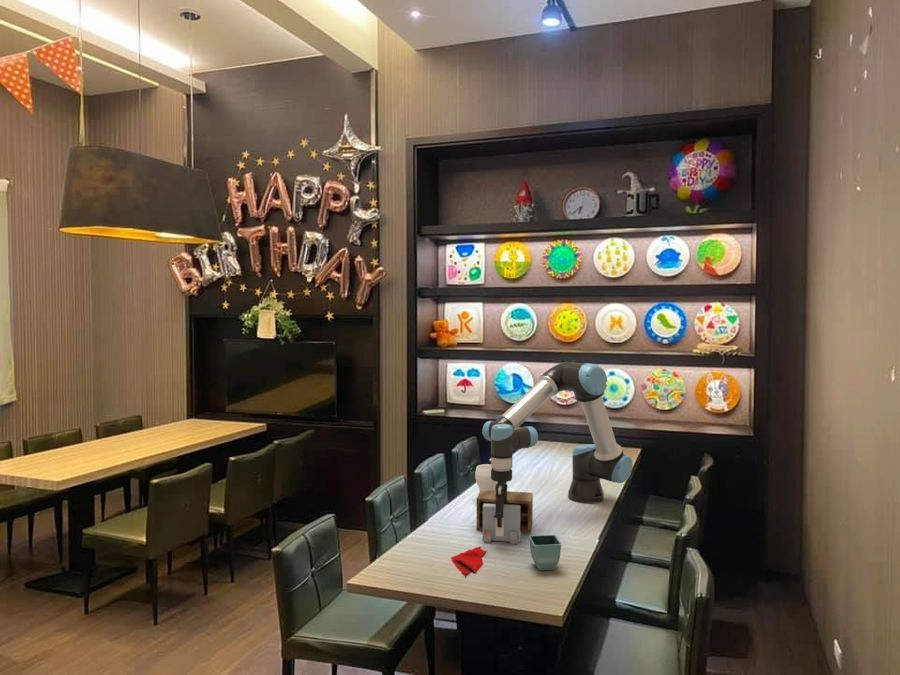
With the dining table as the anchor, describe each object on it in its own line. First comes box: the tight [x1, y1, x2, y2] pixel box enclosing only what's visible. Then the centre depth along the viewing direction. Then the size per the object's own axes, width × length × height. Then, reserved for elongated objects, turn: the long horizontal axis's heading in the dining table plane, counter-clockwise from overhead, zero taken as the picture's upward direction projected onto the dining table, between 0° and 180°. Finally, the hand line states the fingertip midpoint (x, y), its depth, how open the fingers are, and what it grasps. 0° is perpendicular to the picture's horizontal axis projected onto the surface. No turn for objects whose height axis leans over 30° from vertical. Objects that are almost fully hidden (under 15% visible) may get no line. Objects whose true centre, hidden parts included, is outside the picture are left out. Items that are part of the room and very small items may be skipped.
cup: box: [474, 463, 498, 492], centre depth 277 cm, size 11×11×15 cm
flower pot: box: [528, 534, 562, 571], centre depth 210 cm, size 9×9×9 cm
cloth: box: [450, 546, 487, 579], centre depth 215 cm, size 26×14×2 cm, turn 155°
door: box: [482, 503, 521, 543], centre depth 234 cm, size 13×4×12 cm, turn 80°
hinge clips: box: [483, 529, 518, 546], centre depth 236 cm, size 11×12×4 cm
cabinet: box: [476, 490, 534, 534], centre depth 247 cm, size 20×11×12 cm, turn 80°
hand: (501, 530), depth 232 cm, fingers open, 11 cm apart
